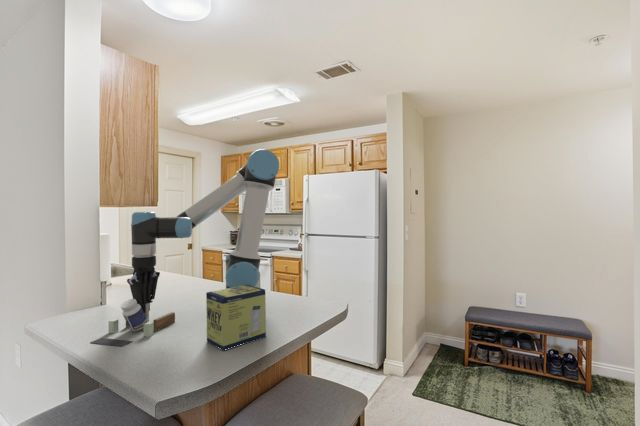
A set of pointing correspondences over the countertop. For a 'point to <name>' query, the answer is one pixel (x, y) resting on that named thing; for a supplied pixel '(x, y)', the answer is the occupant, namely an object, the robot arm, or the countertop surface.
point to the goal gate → (147, 327)
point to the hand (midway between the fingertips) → (144, 321)
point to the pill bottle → (133, 315)
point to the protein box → (235, 316)
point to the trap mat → (111, 342)
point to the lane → (162, 321)
